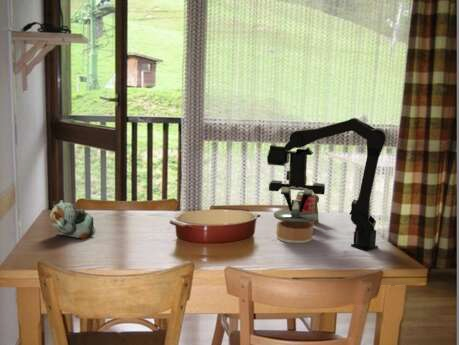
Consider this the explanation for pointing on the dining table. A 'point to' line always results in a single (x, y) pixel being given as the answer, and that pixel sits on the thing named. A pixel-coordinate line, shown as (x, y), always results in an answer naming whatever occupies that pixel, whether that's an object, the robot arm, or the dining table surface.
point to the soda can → (307, 203)
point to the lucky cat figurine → (71, 220)
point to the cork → (316, 208)
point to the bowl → (294, 232)
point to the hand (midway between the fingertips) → (295, 211)
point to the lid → (295, 214)
